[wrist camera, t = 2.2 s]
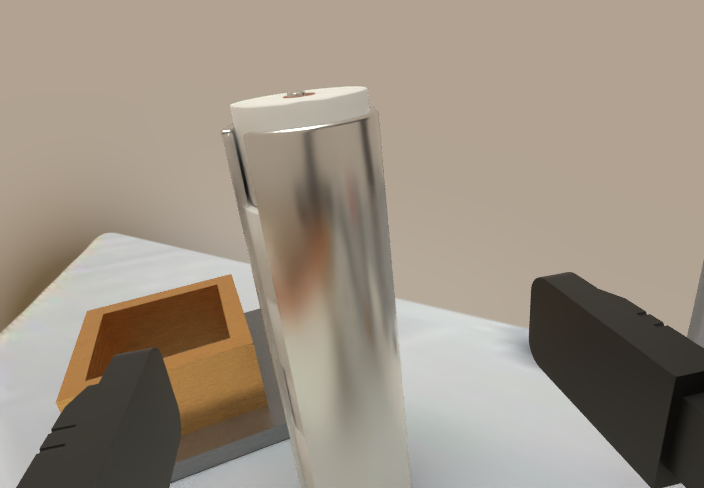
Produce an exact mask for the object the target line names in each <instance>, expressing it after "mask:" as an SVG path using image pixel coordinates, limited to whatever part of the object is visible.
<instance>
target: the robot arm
mask: <svg viewBox="0 0 704 488" xmlns="http://www.w3.org/2000/svg"><path fill="white" fill-rule="evenodd" d="M529 345H530V349H531V352H532V355H533V357H534V360H535V361H536V363H537V365H538V366H539V367H540V368H541V369H542V370H543V371H544V373H545V374H546V375H547V376H548V377H549V378H550V379H551V380H552V381H553V382H554V383H555V384H556V386H557V387H558V388H559V389H560V390H561V391H562V392H563V393H564V394H565V395H566V396H567V397H568V399H569V400H570V401H571V402H572V403H573V404H574V405H575V406H576V407H577V408H578V409H579V410H580V412H581V413H582V414H583V415H584V416H585V417H586V418H587V419H588V420H589V421H590V422H591V423H592V424H593V426H594V427H595V428H596V429H597V430H598V431H599V432H600V433H601V434H602V435H603V436H604V437H605V439H606V440H607V441H608V442H609V443H610V444H611V445H612V446H613V447H614V448H615V449H616V450H617V452H618V453H619V454H620V455H621V456H622V457H623V458H624V459H625V460H626V461H627V462H628V463H629V465H630V466H631V467H632V468H633V469H634V470H635V471H636V472H637V473H638V474H639V475H640V476H641V477H642V479H643V480H644V481H645V482H646V483H647V484H648V485H649V486H650V487H651V488H664V487H667V486H671V485H675V484H679V483H682V484H683V485H684V486H685V487H686V488H704V261H703V266H702V270H701V275H700V280H699V284H698V289H697V294H696V299H695V303H694V308H693V312H692V317H691V322H690V326H689V330H688V335H687V337H685V336H684V335H682V334H681V333H679V332H677V331H676V330H674V329H673V328H671V327H669V326H664V324H663V322H662V321H660V320H658V319H657V318H655V317H654V316H652V315H650V314H649V315H647V314H646V311H644V310H642V309H641V308H639V307H638V306H636V305H635V304H633V303H631V302H630V301H628V300H627V299H625V298H622V297H619V296H617V295H614V294H611V293H608V292H605V291H603V290H600V289H597V288H596V287H595V286H593V285H592V284H590V283H588V282H587V281H585V280H584V279H582V278H581V277H579V276H578V275H576V274H574V273H572V272H566V273H561V274H556V275H550V276H545V277H539V278H536V279H535V280H534V281H533V284H532V288H531V305H530V325H529ZM51 430H52V433H51V434H48V436H47V437H46V439H45V441H44V442H43V444H42V446H41V447H40V453H39V454H36V456H35V457H34V459H33V461H32V462H31V464H30V466H29V467H28V469H27V471H26V472H25V474H24V476H23V477H22V479H21V481H20V482H19V484H18V486H17V487H16V488H169V486H170V482H171V478H172V473H173V469H174V465H175V461H176V456H177V452H178V448H179V444H180V438H181V418H180V412H179V408H178V404H177V401H176V398H175V395H174V392H173V388H172V385H171V382H170V379H169V376H168V373H167V369H166V366H165V363H164V360H163V357H162V354H161V352H160V351H159V349H158V348H156V347H154V348H148V349H143V350H137V351H132V352H127V353H121V354H116V355H115V356H113V358H112V359H111V361H110V363H109V365H108V367H107V369H106V371H105V372H104V374H103V376H102V378H101V380H100V382H99V383H98V384H95V385H89V386H87V387H86V388H85V389H84V390H83V391H82V392H81V393H79V394H78V395H77V396H76V397H75V398H74V399H73V400H72V401H71V402H70V403H69V404H68V405H66V406H65V408H64V409H63V411H62V413H61V414H60V416H59V418H58V419H57V421H56V423H55V424H54V426H53V428H52V429H51Z"/></svg>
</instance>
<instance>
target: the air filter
mask: <svg viewBox="0 0 704 488" xmlns="http://www.w3.org/2000/svg"><path fill="white" fill-rule="evenodd" d="M230 108H231V112H232V117H233V122H234V123H233V124H230V125H227V126H225V127H224V128H223V129H222V130H221V135H222V139H223V144H224V148H225V153H226V157H227V161H228V166H229V170H230V175H231V179H232V184H233V188H234V193H235V197H236V202H237V206H238V210H239V215H240V220H241V224H242V228H243V233H244V237H245V241H246V246H247V251H248V255H249V259H250V264H251V269H252V273H253V277H254V282H255V286H256V291H257V295H258V300H259V304H260V309H261V313H262V318H263V322H264V326H265V331H266V335H267V340H268V344H269V349H270V353H271V358H272V362H273V367H274V371H275V375H276V380H277V384H278V389H279V393H280V398H281V402H282V407H283V411H284V416H285V420H286V424H287V429H288V433H289V438H290V442H291V447H292V451H293V456H294V460H295V465H296V469H297V473H298V478H299V482H300V487H301V488H412V487H411V476H410V464H409V453H408V442H407V430H406V419H405V408H404V396H403V385H402V374H401V362H400V351H399V339H398V328H397V317H396V305H395V294H394V283H393V272H392V260H391V250H390V238H389V226H388V215H387V203H386V192H385V182H384V181H385V180H384V170H383V158H382V146H381V135H380V124H379V113H378V111H377V110H376V109H375V108H374V107H370V106H369V99H368V89H367V88H366V87H361V86H349V87H336V88H324V89H314V90H305V91H297V92H290V93H283V94H277V95H270V96H264V97H259V98H254V99H249V100H244V101H240V102H237V103H233V104H231V105H230Z"/></svg>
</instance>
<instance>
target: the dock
mask: <svg viewBox="0 0 704 488" xmlns="http://www.w3.org/2000/svg"><path fill="white" fill-rule="evenodd" d="M154 347H156V348H158V349H159V351H160V352H161V354H162V357H163V360H164V363H165V366H166V369H167V373H168V376H169V379H170V382H171V385H172V388H173V392H174V395H175V398H176V401H177V404H178V408H179V412H180V418H181V438H180V444H179V448H178V452H177V456H176V461H175V465H174V469H173V473H172V478H171V482H173V481H176V480H179V479H181V478H184V477H187V476H189V475H192V474H195V473H197V472H200V471H203V470H205V469H208V468H211V467H213V466H216V465H219V464H221V463H224V462H227V461H229V460H232V459H235V458H237V457H240V456H242V455H245V454H248V453H250V452H253V451H256V450H258V449H261V448H264V447H266V446H269V445H272V444H274V443H277V442H280V441H282V440H285V439H288V438H289V433H288V429H287V424H286V420H285V416H284V411H283V407H282V402H281V398H280V393H279V389H278V384H277V380H276V375H275V371H274V367H273V362H272V358H271V353H270V349H269V344H268V340H267V335H266V331H265V326H264V322H263V318H262V313H261V309H257V310H253V311H250V312H246V313H243V309H242V306H241V303H240V300H239V297H238V294H237V291H236V288H235V285H234V281H233V278H232V275H231V274H230V275H226V276H222V277H218V278H215V279H211V280H207V281H203V282H199V283H195V284H191V285H187V286H183V287H180V288H176V289H172V290H168V291H164V292H160V293H156V294H152V295H148V296H144V297H141V298H137V299H133V300H129V301H125V302H121V303H117V304H113V305H109V306H106V307H102V308H98V309H94V310H90V311H87V313H86V316H85V319H84V322H83V325H82V328H81V330H80V333H79V336H78V339H77V342H76V345H75V348H74V351H73V354H72V357H71V360H70V363H69V366H68V369H67V372H66V374H65V377H64V380H63V383H62V386H61V389H60V392H59V395H58V398H57V401H56V404H57V406H58V408H59V410H60V412H61V413H62V411H63V409H64V408H65V406H66V405H68V404H69V403H70V402H71V401H72V400H73V399H74V398H75V397H76V396H77V395H78V394H79V393H81V392H82V391H83V390H84V389H85V388H86V387H87V386H89V385H95V384H98V383H99V382H100V380H101V378H102V376H103V374H104V372H105V371H106V369H107V367H108V365H109V363H110V361H111V359H112V358H113V356H115V355H116V354H121V353H127V352H132V351H137V350H143V349H148V348H154ZM171 482H170V483H171Z"/></svg>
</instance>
